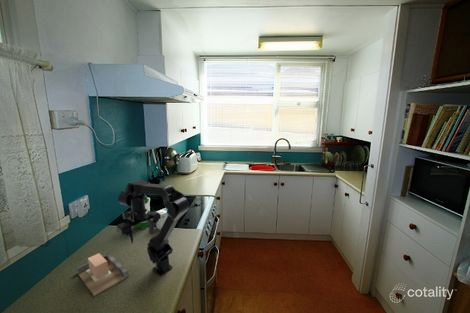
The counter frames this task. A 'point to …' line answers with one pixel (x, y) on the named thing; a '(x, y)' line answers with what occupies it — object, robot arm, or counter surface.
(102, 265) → the terracotta block
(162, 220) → the light bulb box
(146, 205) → the milk carton
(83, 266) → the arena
